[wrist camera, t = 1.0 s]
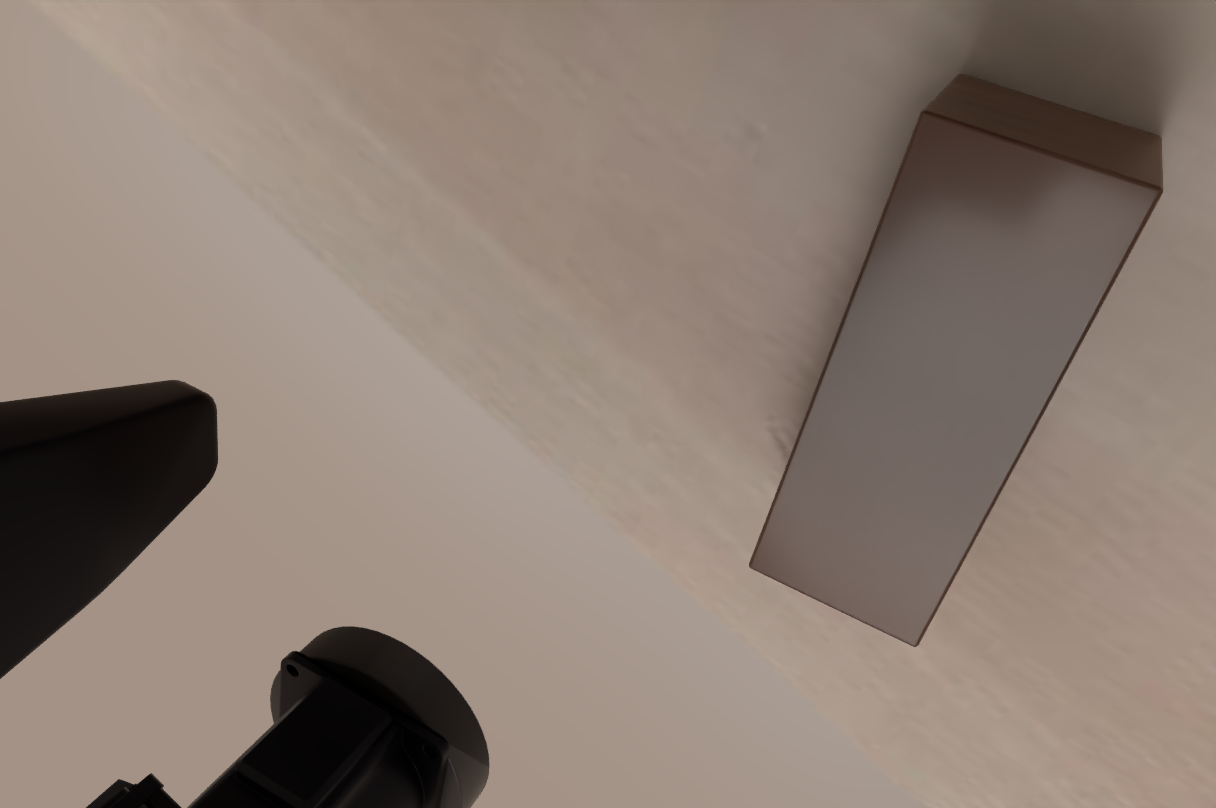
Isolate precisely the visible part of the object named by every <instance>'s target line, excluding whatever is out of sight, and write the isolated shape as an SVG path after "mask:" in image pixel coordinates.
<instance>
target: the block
mask: <svg viewBox="0 0 1216 808" xmlns="http://www.w3.org/2000/svg"><path fill="white" fill-rule="evenodd" d="M1162 193H1163V170H1162V138H1161V137H1160V136H1157V135H1154V134H1151V133H1147V132H1144V131H1141V130H1138V129H1135V128H1132V127H1128V126H1125V125H1122V124H1119V123H1116V122H1112V121H1109V120H1106V119H1103V118H1100V117H1096V116H1093V115H1090V114H1087V113H1084V112H1081V111H1077V110H1074V109H1071V108H1068V107H1065V106H1061V105H1058V104H1055V103H1052V102H1049V101H1045V100H1042V99H1039V98H1036V97H1033V96H1030V95H1026V94H1023V93H1020V92H1017V91H1014V90H1010V89H1007V88H1004V87H1001V86H998V85H995V84H991V83H988V82H985V81H982V80H979V79H975V78H972V77H969V76H966V75H963V74H959V75H958V76H957V77H956V78H955V79H954V80H953V81H952V82H951V83H950V84H949V85H948V86H947V87H946V88H945V89H944V90H943V91H942V92H941V93H940V94H939V95H938V96H937V97H936V98H935V99H934V100H933V101H932V102H931V103H930V104H929V105H928V106H927V107H926V108H925V109H924V110H923V111H922V112H921V113H920V116H919V118H918V121H917V124H916V126H915V129H914V131H913V134H912V137H911V139H910V142H909V145H908V147H907V150H906V153H905V155H904V158H903V160H902V163H901V166H900V168H899V171H898V174H897V176H896V179H895V181H894V184H893V187H892V189H891V192H890V195H889V197H888V200H887V202H886V205H885V208H884V210H883V213H882V216H881V218H880V221H879V224H878V226H877V229H876V231H875V234H874V237H873V239H872V242H871V245H870V247H869V250H868V252H867V255H866V258H865V260H864V263H863V266H862V268H861V271H860V273H859V276H858V279H857V281H856V284H855V287H854V289H853V292H852V295H851V297H850V300H849V302H848V305H847V308H846V310H845V313H844V316H843V318H842V321H841V323H840V326H839V329H838V331H837V334H836V337H835V339H834V342H833V344H832V347H831V350H830V352H829V355H828V358H827V360H826V363H825V366H824V368H823V371H822V373H821V376H820V379H819V381H818V384H817V387H816V389H815V392H814V394H813V397H812V400H811V402H810V405H809V408H808V410H807V413H806V416H805V418H804V421H803V423H802V426H801V429H800V431H799V434H798V437H797V439H796V442H795V444H794V447H793V450H792V452H791V455H790V458H789V460H788V463H787V465H786V468H785V471H784V473H783V476H782V479H781V481H780V484H779V487H778V489H777V492H776V494H775V497H774V500H773V502H772V505H771V508H770V510H769V513H768V515H767V518H766V521H765V523H764V526H763V529H762V531H761V534H760V536H759V539H758V542H757V544H756V547H755V550H754V552H753V555H752V558H751V560H750V563H749V567H750V568H751V569H753V570H756V571H758V572H760V573H762V574H764V575H766V576H768V577H770V578H772V579H774V580H776V581H778V582H780V583H783V584H785V585H787V586H789V587H791V588H793V589H795V590H797V591H799V592H801V593H803V594H805V595H807V596H809V597H812V598H814V599H816V600H818V601H820V602H822V603H824V604H826V605H828V606H830V607H832V608H834V609H836V610H839V611H841V612H843V613H845V614H847V615H849V616H851V617H853V618H855V619H857V620H859V621H861V622H863V623H866V624H868V625H870V626H872V627H874V628H876V629H878V630H880V631H882V632H884V633H886V634H888V635H890V636H893V637H895V638H897V639H899V640H901V641H903V642H905V643H907V644H909V645H911V646H913V647H916V646H918V645H919V643H920V641H921V639H922V637H923V636H924V634H925V632H926V630H927V628H928V626H929V624H930V623H931V621H932V619H933V617H934V615H935V613H936V611H937V610H938V608H939V606H940V604H941V602H942V600H943V599H944V597H945V595H946V593H947V591H948V589H949V587H950V586H951V584H952V582H953V580H954V578H955V576H956V574H957V573H958V571H959V569H960V567H961V565H962V563H963V561H964V560H965V558H966V556H967V554H968V552H969V550H970V549H971V547H972V545H973V543H974V541H975V539H976V537H977V536H978V534H979V532H980V530H981V528H982V526H983V524H984V523H985V521H986V519H987V517H988V515H989V513H990V511H991V510H992V508H993V506H994V504H995V502H996V500H997V499H998V497H999V495H1000V493H1001V491H1002V489H1003V487H1004V486H1005V484H1006V482H1007V480H1008V478H1009V476H1010V474H1011V473H1012V471H1013V469H1014V467H1015V465H1016V463H1017V461H1018V460H1019V458H1020V456H1021V454H1022V452H1023V450H1024V449H1025V447H1026V445H1027V443H1028V441H1029V439H1030V437H1031V436H1032V434H1033V432H1034V430H1035V428H1036V426H1037V424H1038V423H1039V421H1040V419H1041V417H1042V415H1043V413H1044V411H1045V410H1046V408H1047V406H1048V404H1049V402H1050V400H1051V399H1052V397H1053V395H1054V393H1055V391H1056V389H1057V387H1058V386H1059V384H1060V382H1061V380H1062V378H1063V376H1064V374H1065V373H1066V371H1067V369H1068V367H1069V365H1070V363H1071V362H1072V360H1073V358H1074V356H1075V354H1076V352H1077V350H1078V349H1079V347H1080V345H1081V343H1082V341H1083V339H1084V337H1085V336H1086V334H1087V332H1088V330H1089V328H1090V326H1091V324H1092V323H1093V321H1094V319H1095V317H1096V315H1097V313H1098V312H1099V310H1100V308H1101V306H1102V304H1103V302H1104V300H1105V299H1106V297H1107V295H1108V293H1109V291H1110V289H1111V287H1112V286H1113V284H1114V282H1115V280H1116V278H1117V276H1118V274H1119V273H1120V271H1121V269H1122V267H1123V265H1124V263H1125V262H1126V260H1127V258H1128V256H1129V254H1130V252H1131V250H1132V249H1133V247H1134V245H1135V243H1136V241H1137V239H1138V237H1139V236H1140V234H1141V232H1142V230H1143V228H1144V226H1145V224H1146V223H1147V221H1148V219H1149V217H1150V215H1151V213H1152V212H1153V210H1154V208H1155V206H1156V204H1157V202H1158V200H1159V199H1160V197H1161V195H1162Z"/></svg>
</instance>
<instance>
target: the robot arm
mask: <svg viewBox="0 0 1216 808" xmlns="http://www.w3.org/2000/svg"><path fill="white" fill-rule="evenodd" d="M217 464H218V441H217V409H216V404H215V402H214V400H213V398H212V397H211V396H210V395H209V394H207V393H205V392H203V391H201V390H199V389H197V388H195V387H193V386H191V385H189V384H187V383H185V382H181V381H178V380H169V381H161V382H154V383H146V384H138V385H130V386H122V387H114V388H107V389H99V390H91V391H84V392H76V393H68V394H61V395H53V396H45V397H38V398H30V399H23V400H15V401H8V402H0V679H1V678H2V677H3V676H4V675H5V674H6V673H8V672H9V671H10V670H11V669H13V668H14V667H15V666H16V665H17V664H18V663H20V662H21V661H22V660H23V659H24V658H26V656H28V655H29V654H30V653H31V652H33V651H34V650H35V649H36V648H37V647H39V646H40V645H41V644H42V643H43V642H44V641H46V640H47V639H48V638H49V637H50V636H51V635H52V634H54V633H55V632H56V631H57V630H58V629H60V628H61V627H62V626H63V625H65V624H66V623H67V622H68V621H69V620H70V619H72V618H73V617H74V616H75V615H76V614H78V613H79V612H80V611H81V610H82V609H83V608H85V606H87V605H88V604H89V603H90V602H91V601H92V600H93V599H95V598H96V597H97V596H98V595H99V594H100V593H101V592H103V591H104V589H106V588H107V586H109V584H111V583H112V582H113V581H114V580H115V579H116V578H117V577H118V576H119V575H120V574H121V573H122V572H123V571H124V570H125V569H126V568H127V567H128V566H129V565H130V564H131V563H132V562H133V561H134V560H135V559H136V558H137V557H138V556H139V555H140V554H141V552H142V551H143V550H144V549H145V548H146V547H147V546H148V545H149V544H150V543H151V542H152V541H153V540H154V539H155V538H156V537H157V536H158V535H159V534H160V533H161V532H162V531H163V530H164V529H165V528H166V527H167V526H168V525H169V524H170V523H171V522H172V521H173V520H174V519H175V517H177V516H178V515H179V513H180V512H181V511H182V510H183V509H184V508H185V507H186V506H187V505H188V504H189V503H190V502H191V501H192V500H193V499H194V498H195V497H196V496H197V495H198V494H199V493H200V492H201V491H202V490H203V489H204V488H205V487H206V485H207V484H208V483H209V482H210V480H211V479H212V477H213V475H214V473H215V471H216V468H217ZM449 753H450V746H449V744H448V742H447V741H446V739H445V738H444V737H443V736H442V735H440V734H439V733H437V732H436V731H434V730H432V729H431V728H429V727H427V726H425V725H424V724H422V723H420V722H419V721H417V720H415V719H413V718H412V717H410V716H408V715H407V714H405V713H403V712H402V711H400V710H398V709H396V708H395V707H393V706H391V705H390V704H388V703H386V702H384V701H383V700H381V699H379V698H378V697H376V696H374V695H373V694H371V693H369V692H367V691H366V690H364V689H362V688H361V687H359V686H357V685H355V684H354V683H352V682H350V681H349V680H347V679H345V678H343V677H342V676H340V675H338V674H337V673H335V672H333V671H332V670H330V669H328V668H326V667H325V666H323V665H321V664H320V663H318V662H316V661H314V660H313V659H311V658H309V657H308V656H306V655H304V654H303V653H301V652H298V651H292V652H291V653H289V654H288V655H287V656H286V657H285V658H284V659H283V660H282V661H281V676H280V707H279V720H278V721H277V722H276V723H275V724H273V726H271V728H269V729H268V730H267V731H266V732H265V733H264V734H263V735H262V736H261V737H260V738H259V739H258V740H257V741H256V742H255V743H254V744H253V745H252V746H251V747H250V748H249V749H248V750H246V751H245V752H244V753H243V754H242V755H241V756H240V757H239V758H238V759H237V760H236V761H235V762H234V763H233V764H232V765H231V766H230V767H229V768H228V769H227V770H226V771H225V772H224V773H223V774H222V775H220V776H219V777H218V778H217V779H216V780H215V781H214V782H213V783H212V784H211V785H210V786H209V787H208V788H207V789H206V790H205V791H204V792H203V793H202V794H201V795H200V796H199V797H198V798H197V799H195V800H194V801H193V802H192V803H191V804H190V805H189V806H188V807H187V808H440V803H441V797H442V792H443V786H444V781H445V775H446V770H447V764H448V759H449ZM163 786H164V785H163V784H162V783H161V782H160V781H159V780H158V779H157V778H156V777H155V776H154V775H153V774H152V773H151V774H149V775H148V776H147V777H146V778H144V779H143V780H142V781H141V782H140V783H138V784H135V785H134V784H131V783H128V782H125V781H123V780H120V779H119V780H117V781H116V782H115V783H114V784H113V785H111V786H110V787H109V788H108V789H107V790H106V791H105V792H103V793H102V794H101V795H100V796H99V797H98V798H97V799H95V800H94V801H93V802H92V803H91V804H90V805H88V806H87V807H86V808H181V807H180V806H179V805H178V804H177V803H176V802H175V801H174V800H173V799H172V798H171V797H170V796H169V795H168V794H167V793H166V792H165V791H164V790H163V789H162V788H163Z"/></svg>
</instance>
